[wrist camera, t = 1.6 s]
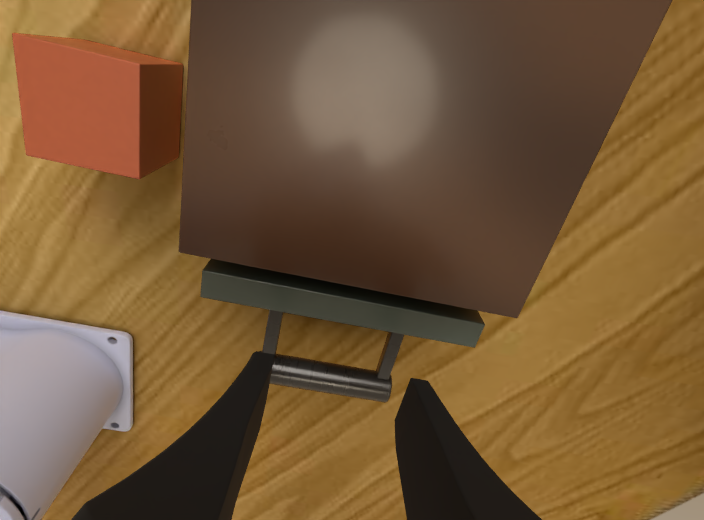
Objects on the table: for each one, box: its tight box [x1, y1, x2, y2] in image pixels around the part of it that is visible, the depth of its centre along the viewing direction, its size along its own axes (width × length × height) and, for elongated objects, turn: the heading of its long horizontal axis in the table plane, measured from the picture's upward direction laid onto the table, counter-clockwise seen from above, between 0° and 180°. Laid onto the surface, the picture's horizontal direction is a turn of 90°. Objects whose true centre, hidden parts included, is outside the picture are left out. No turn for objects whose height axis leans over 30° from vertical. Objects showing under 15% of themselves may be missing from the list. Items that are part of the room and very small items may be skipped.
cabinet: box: [179, 0, 672, 318], centre depth 15 cm, size 14×12×7 cm
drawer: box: [201, 259, 485, 402], centre depth 17 cm, size 18×11×6 cm, turn 167°
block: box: [12, 33, 183, 179], centre depth 17 cm, size 4×4×4 cm
